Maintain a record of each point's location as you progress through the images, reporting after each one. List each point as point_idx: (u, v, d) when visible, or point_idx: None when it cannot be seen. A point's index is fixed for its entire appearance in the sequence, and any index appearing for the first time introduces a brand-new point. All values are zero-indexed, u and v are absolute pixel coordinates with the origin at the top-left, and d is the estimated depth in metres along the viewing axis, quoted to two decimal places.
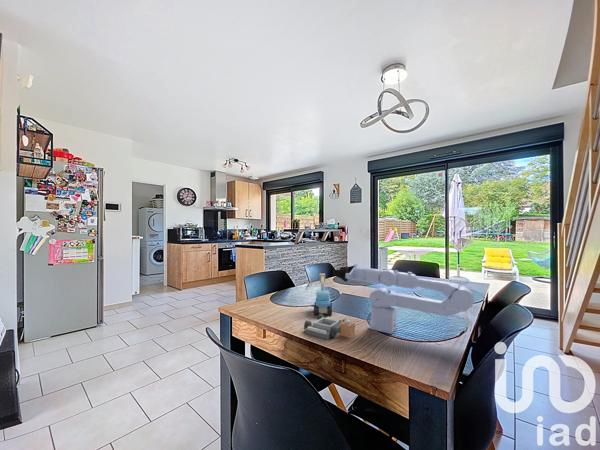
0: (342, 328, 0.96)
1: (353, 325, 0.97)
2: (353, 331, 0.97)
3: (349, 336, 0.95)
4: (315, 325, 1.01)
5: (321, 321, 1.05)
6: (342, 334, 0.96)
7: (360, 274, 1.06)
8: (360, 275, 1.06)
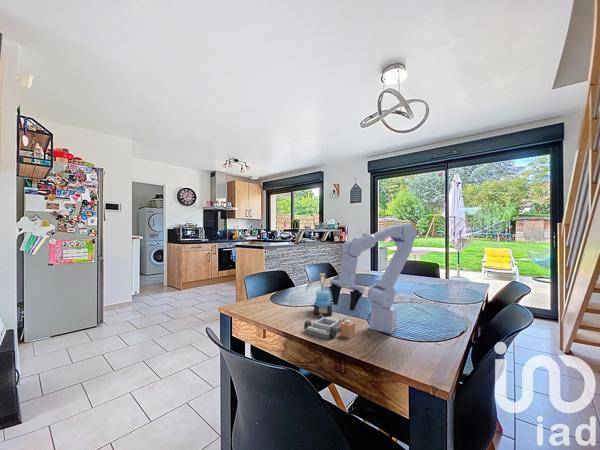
0: (342, 328, 0.96)
1: (353, 325, 0.97)
2: (353, 331, 0.97)
3: (349, 336, 0.95)
4: (315, 325, 1.01)
5: (321, 321, 1.05)
6: (342, 334, 0.96)
7: (353, 277, 0.97)
8: (354, 276, 0.98)
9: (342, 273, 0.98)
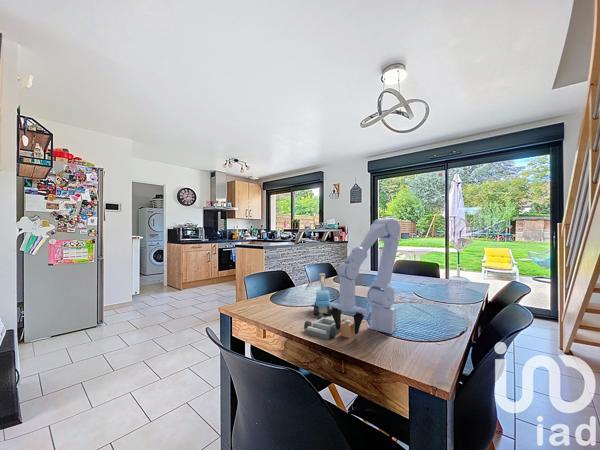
0: (342, 328, 0.96)
1: (353, 325, 0.97)
2: (353, 331, 0.97)
3: (349, 336, 0.95)
4: (315, 325, 1.01)
5: (321, 321, 1.05)
6: (342, 334, 0.96)
7: (353, 300, 0.95)
8: (354, 299, 0.96)
9: (342, 297, 0.96)
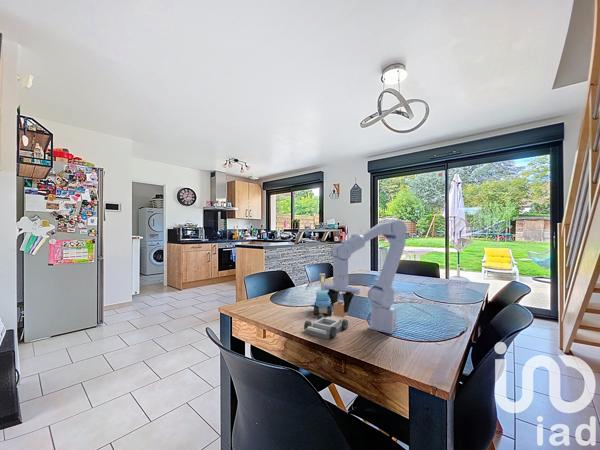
0: (335, 308, 0.98)
1: None
2: None
3: (342, 315, 0.96)
4: (315, 325, 1.01)
5: (321, 321, 1.05)
6: (335, 314, 0.98)
7: (346, 280, 0.97)
8: (347, 279, 0.98)
9: (335, 278, 0.97)
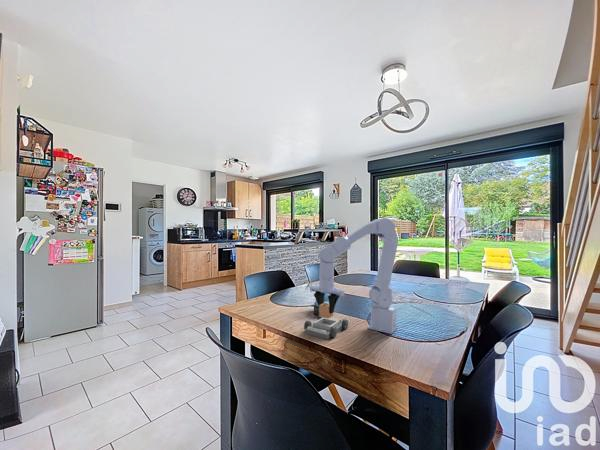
0: (321, 309, 1.01)
1: None
2: None
3: (327, 316, 1.00)
4: (315, 325, 1.01)
5: (321, 321, 1.05)
6: (321, 315, 1.01)
7: (332, 282, 1.01)
8: (333, 281, 1.01)
9: (321, 280, 1.01)
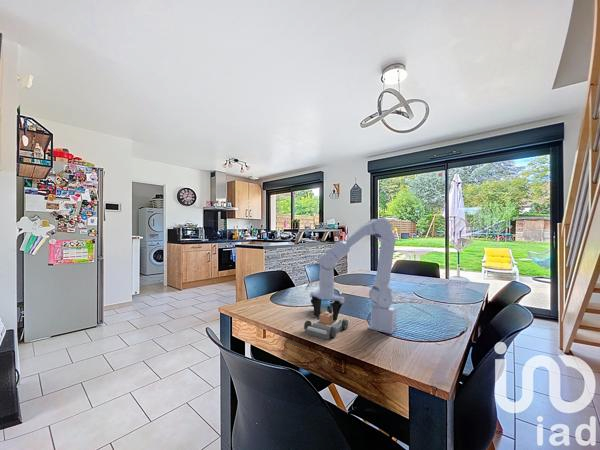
0: (321, 319, 1.01)
1: (331, 316, 1.02)
2: (332, 322, 1.02)
3: None
4: (315, 325, 1.01)
5: None
6: None
7: (332, 288, 1.01)
8: (333, 288, 1.01)
9: (321, 286, 1.01)
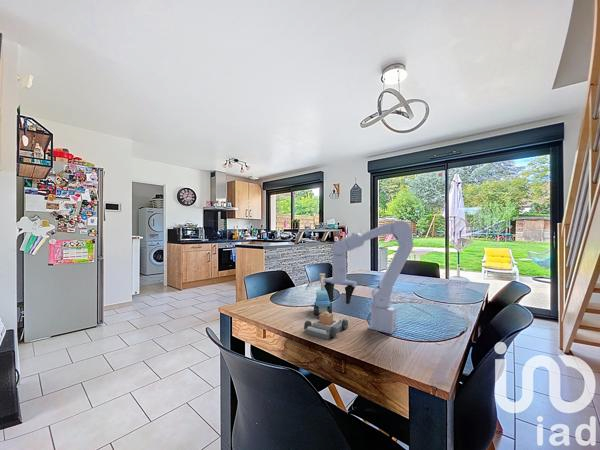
0: (321, 319, 1.01)
1: (331, 316, 1.02)
2: (332, 322, 1.02)
3: None
4: (315, 325, 1.01)
5: None
6: None
7: (344, 273, 1.06)
8: (345, 273, 1.07)
9: (334, 272, 1.06)
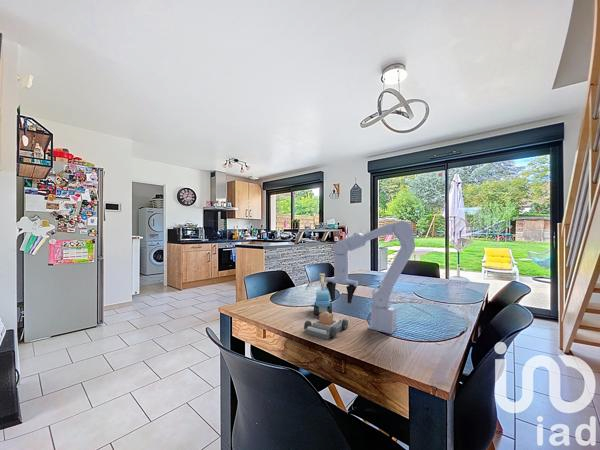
0: (321, 319, 1.01)
1: (331, 316, 1.02)
2: (332, 322, 1.02)
3: None
4: (315, 325, 1.01)
5: None
6: None
7: (346, 273, 1.07)
8: (347, 272, 1.08)
9: (336, 271, 1.07)
